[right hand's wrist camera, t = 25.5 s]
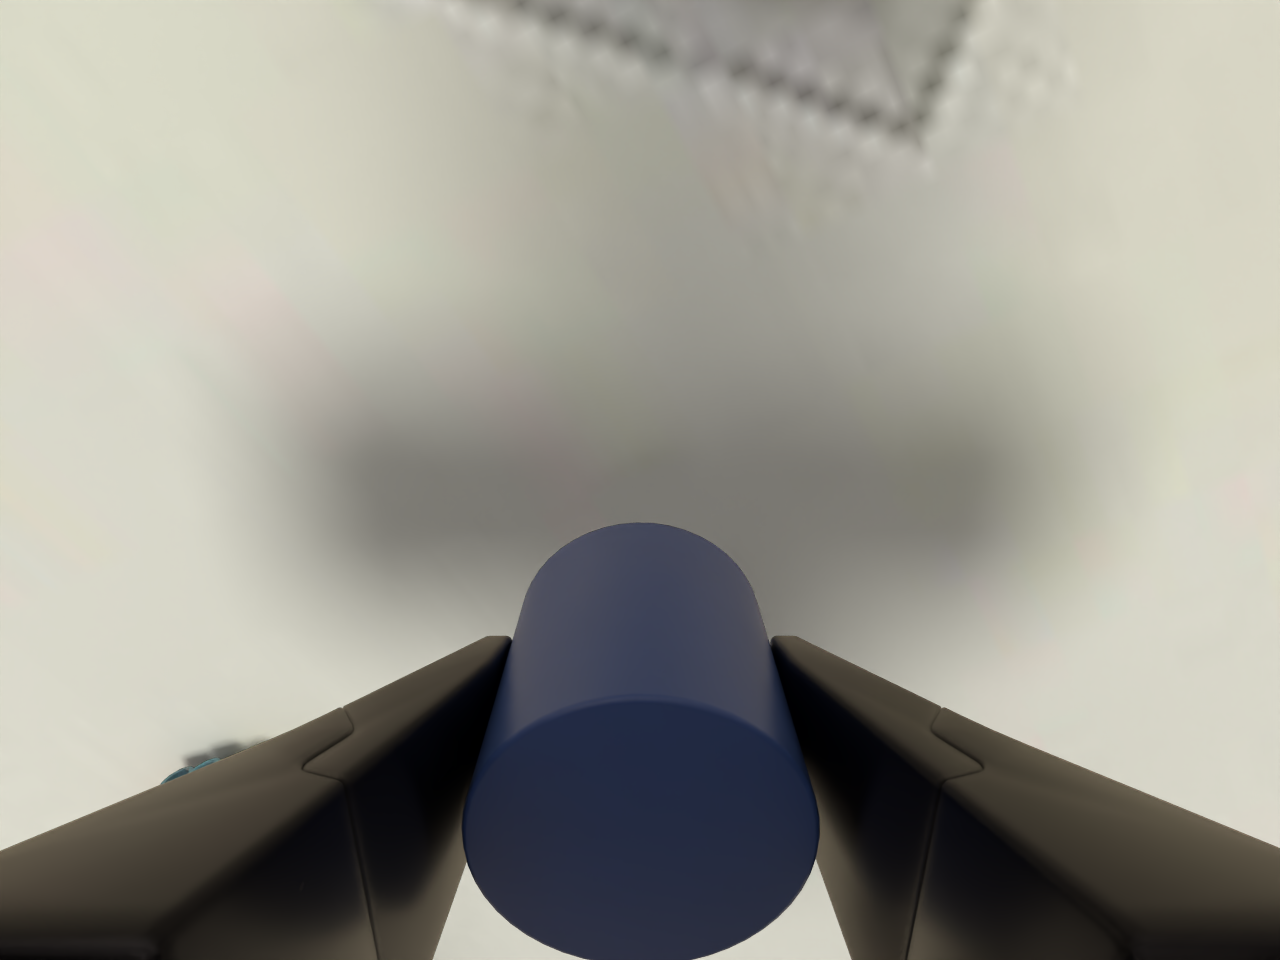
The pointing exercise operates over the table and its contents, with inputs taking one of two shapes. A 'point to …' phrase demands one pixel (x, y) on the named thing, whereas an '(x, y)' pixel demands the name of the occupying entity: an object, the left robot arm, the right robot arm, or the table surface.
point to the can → (640, 757)
